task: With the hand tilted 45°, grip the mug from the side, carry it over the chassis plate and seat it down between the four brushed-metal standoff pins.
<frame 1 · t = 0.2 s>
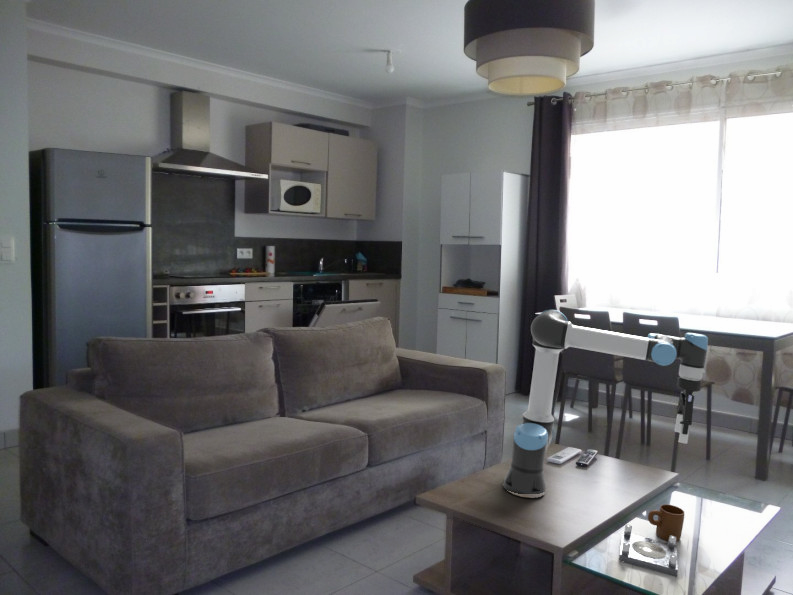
hand: (680, 437, 229), 27 cm above the table, tool pointing down, fingers open, 13 cm apart
mug: (661, 537, 213), on the table
chassis: (647, 555, 199), on the table
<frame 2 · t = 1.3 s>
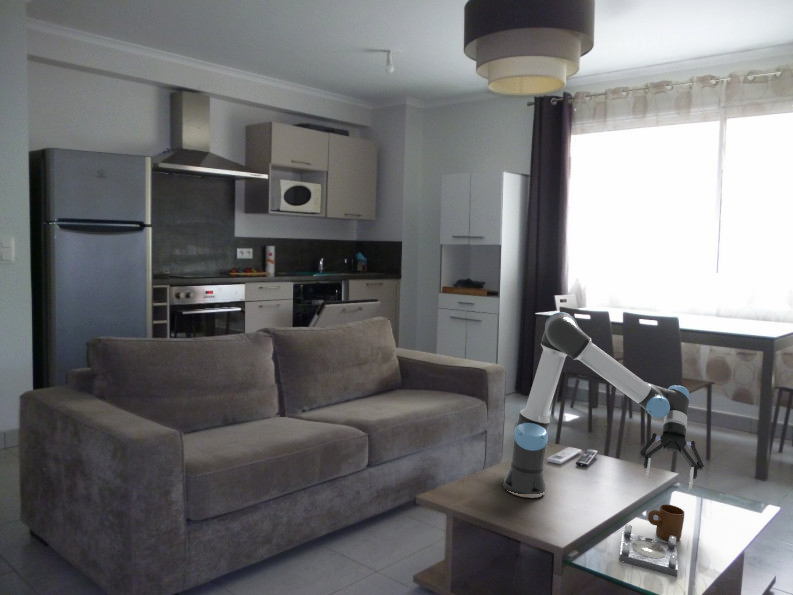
hand: (668, 481, 220), 15 cm above the table, tool tilted 45°, fingers open, 13 cm apart
nothing on the table moved.
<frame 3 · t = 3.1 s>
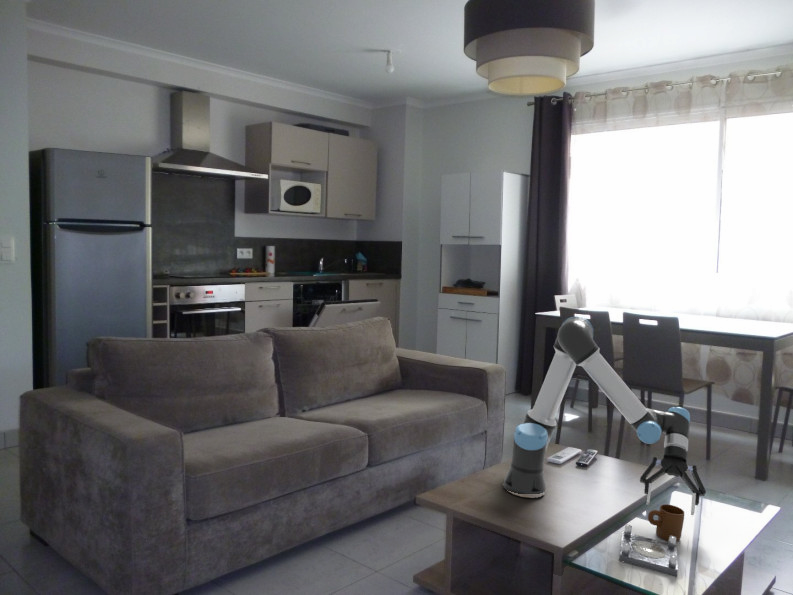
hand: (670, 508, 214), 9 cm above the table, tool tilted 45°, fingers open, 13 cm apart
nothing on the table moved.
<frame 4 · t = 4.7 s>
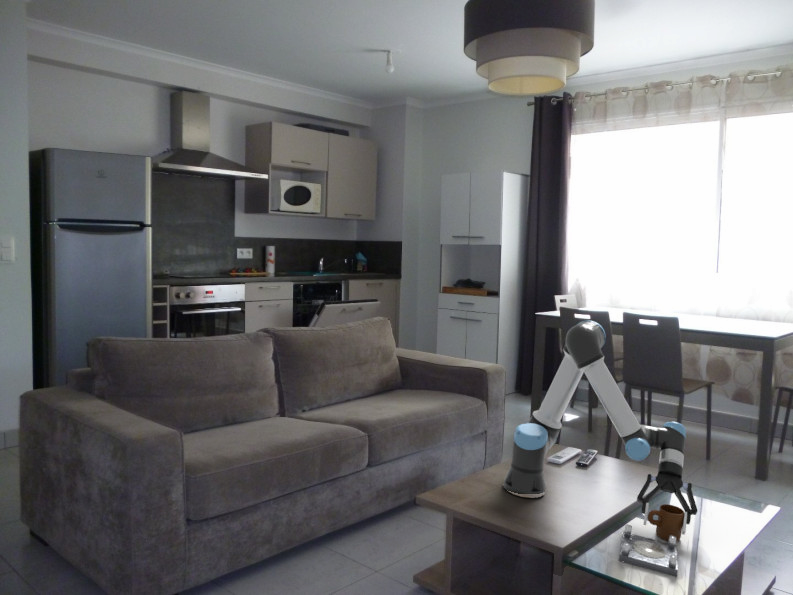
hand: (664, 528, 209), 4 cm above the table, tool tilted 45°, fingers closed on mug, 11 cm apart
mug: (661, 537, 213), on the table, touching gripper
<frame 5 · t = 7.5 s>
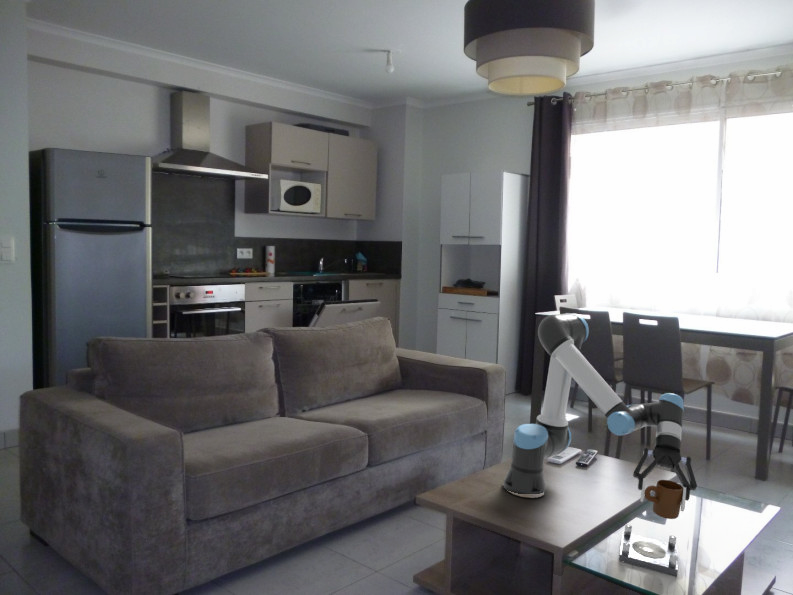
hand: (662, 504, 196), 17 cm above the table, tool tilted 45°, fingers closed on mug, 11 cm apart
mug: (658, 514, 200), point 12 cm above the table, touching gripper
when the fingers open (8 cm above the table, at t = 10.1 s): mug drops 1 cm, resting on chassis.
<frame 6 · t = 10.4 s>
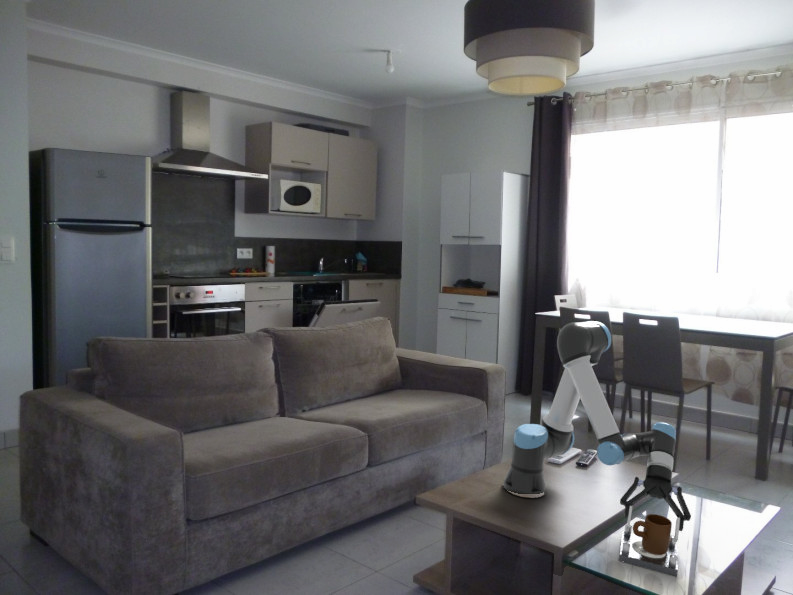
hand: (651, 534, 196), 8 cm above the table, tool tilted 45°, fingers open, 13 cm apart
mug: (647, 549, 199), point 2 cm above the table, touching chassis
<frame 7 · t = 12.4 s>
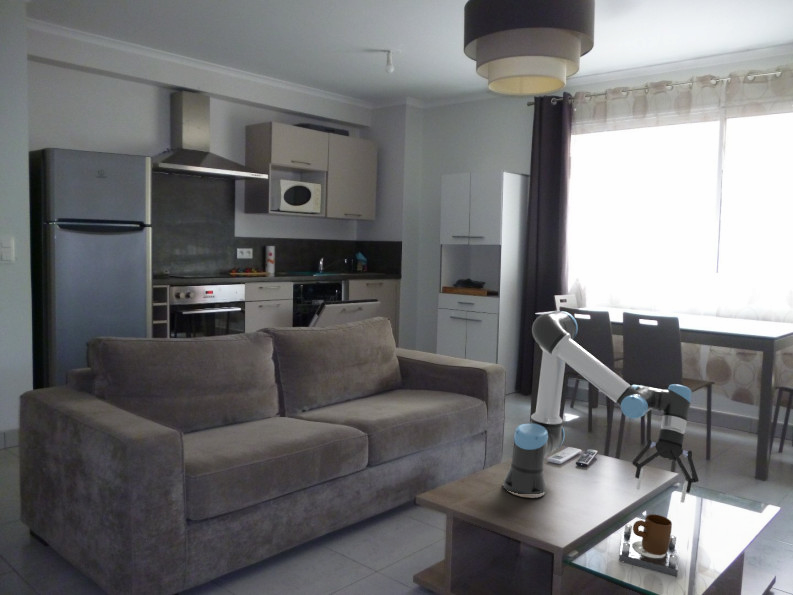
hand: (659, 495, 211), 14 cm above the table, tool tilted 25°, fingers open, 13 cm apart
nothing on the table moved.
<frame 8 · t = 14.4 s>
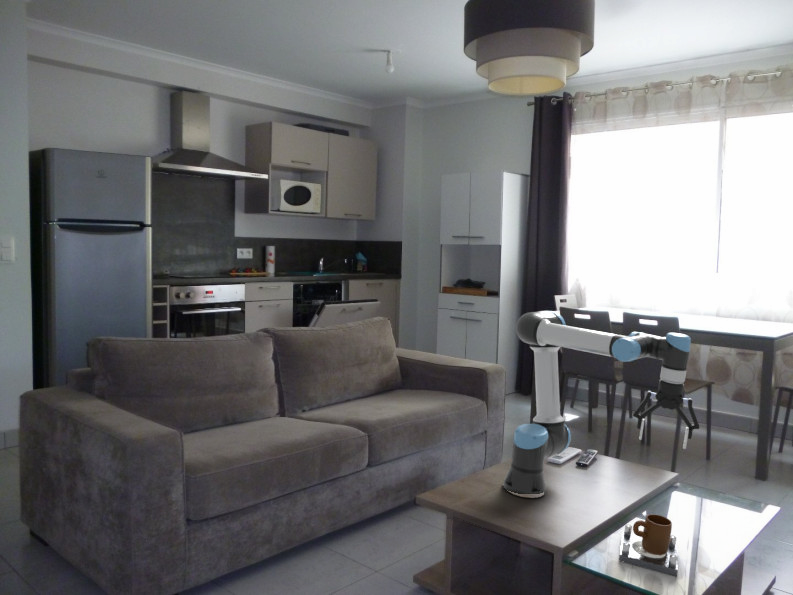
hand: (662, 443, 216), 29 cm above the table, tool pointing down, fingers open, 13 cm apart
nothing on the table moved.
at the end: mug inside the target area on the chassis (0.3 cm from its centre), point 2.0 cm above the chassis's base; mug tilted 0°; the gripper is holding nothing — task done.
